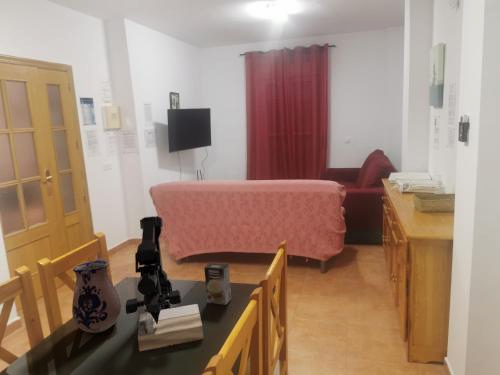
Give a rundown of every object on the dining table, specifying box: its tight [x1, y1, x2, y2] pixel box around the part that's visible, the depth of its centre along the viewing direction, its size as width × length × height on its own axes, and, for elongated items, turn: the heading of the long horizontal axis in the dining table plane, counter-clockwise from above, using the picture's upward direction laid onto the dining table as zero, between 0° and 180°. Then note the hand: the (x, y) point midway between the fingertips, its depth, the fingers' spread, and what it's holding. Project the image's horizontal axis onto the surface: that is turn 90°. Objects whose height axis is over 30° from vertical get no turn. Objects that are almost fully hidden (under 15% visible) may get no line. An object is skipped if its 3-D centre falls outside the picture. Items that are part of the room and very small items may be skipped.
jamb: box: [139, 303, 200, 323], centre depth 147 cm, size 8×22×5 cm, turn 103°
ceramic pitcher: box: [71, 258, 122, 334], centre depth 150 cm, size 18×21×25 cm
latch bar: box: [145, 312, 154, 334], centre depth 138 cm, size 14×3×3 cm, turn 15°
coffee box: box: [203, 261, 232, 306], centre depth 164 cm, size 9×6×16 cm
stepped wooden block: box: [137, 313, 204, 352], centre depth 138 cm, size 10×22×8 cm, turn 103°
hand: (157, 323), depth 137 cm, fingers closed
